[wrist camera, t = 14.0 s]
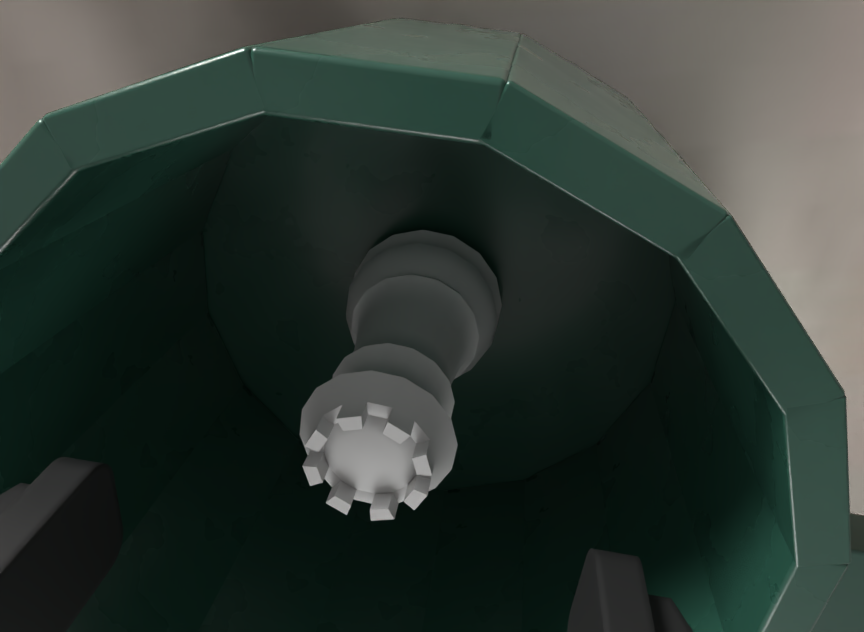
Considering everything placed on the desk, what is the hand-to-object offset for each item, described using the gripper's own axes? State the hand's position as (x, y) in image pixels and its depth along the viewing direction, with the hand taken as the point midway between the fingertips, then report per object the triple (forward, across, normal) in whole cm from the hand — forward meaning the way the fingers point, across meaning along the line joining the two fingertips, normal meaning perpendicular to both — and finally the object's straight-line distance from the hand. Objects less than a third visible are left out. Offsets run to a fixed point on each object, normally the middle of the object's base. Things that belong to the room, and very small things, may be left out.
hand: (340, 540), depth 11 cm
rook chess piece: (+10, 0, 0) cm, 10 cm away
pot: (+10, 0, 0) cm, 10 cm away
